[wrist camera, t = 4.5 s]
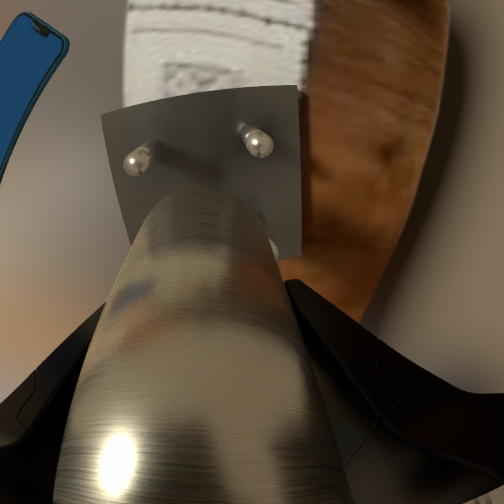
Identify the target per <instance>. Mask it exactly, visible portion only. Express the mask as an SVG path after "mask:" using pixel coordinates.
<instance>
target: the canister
mask: <svg viewBox="0 0 504 504" xmlns="http://www.w3.org/2000/svg"><path fill="white" fill-rule="evenodd" d="M53 504H355V503H354V500H353V496H352V493H351V489H350V486H349V483H348V479H347V476H346V472H345V469H344V466H343V462H342V459H341V456H340V453H339V449H338V446H337V443H336V439H335V436H334V433H333V430H332V427H331V423H330V420H329V417H328V414H327V411H326V407H325V404H324V401H323V398H322V395H321V392H320V389H319V386H318V382H317V379H316V376H315V373H314V370H313V367H312V364H311V361H310V358H309V355H308V352H307V349H306V346H305V343H304V340H303V337H302V334H301V331H300V328H299V325H298V322H297V319H296V316H295V313H294V310H293V307H292V304H291V301H290V299H289V296H288V293H287V290H286V287H285V284H284V281H283V278H282V275H281V273H280V270H279V267H278V264H277V261H276V258H275V255H274V253H273V250H272V247H271V244H270V241H269V239H268V236H267V233H266V230H265V227H264V225H263V223H262V221H261V219H260V218H259V216H258V215H257V213H256V212H255V211H254V210H253V209H252V207H251V206H249V205H248V204H247V203H246V202H245V201H243V200H242V199H240V198H239V197H237V196H235V195H233V194H231V193H228V192H225V191H222V190H219V189H213V188H191V189H186V190H182V191H179V192H176V193H174V194H172V195H170V196H168V197H166V198H165V199H163V200H162V201H160V202H159V203H158V204H157V205H156V206H155V207H154V208H153V209H152V210H151V211H150V213H149V214H148V215H147V217H146V219H145V221H144V222H143V224H142V226H141V228H140V230H139V232H138V234H137V236H136V238H135V240H134V242H133V244H132V246H131V248H130V250H129V252H128V254H127V257H126V259H125V261H124V263H123V265H122V267H121V269H120V271H119V274H118V276H117V278H116V280H115V283H114V285H113V287H112V290H111V292H110V294H109V297H108V299H107V301H106V304H105V306H104V309H103V311H102V314H101V316H100V319H99V321H98V324H97V326H96V329H95V332H94V334H93V337H92V340H91V343H90V345H89V348H88V351H87V354H86V357H85V360H84V363H83V366H82V369H81V372H80V375H79V379H78V382H77V385H76V389H75V392H74V396H73V399H72V403H71V407H70V410H69V414H68V418H67V422H66V427H65V431H64V435H63V440H62V445H61V450H60V455H59V461H58V466H57V473H56V479H55V487H54V495H53Z"/></svg>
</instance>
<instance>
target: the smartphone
mask: <svg viewBox="0 0 504 504" xmlns="http://www.w3.org/2000/svg"><path fill="white" fill-rule="evenodd" d="M69 45H70V43H69V40H68V38H67V37H65V36H64V35H62V34H61V33H60V32H58V31H57V30H55V29H54V28H53V27H51V26H50V25H48V24H47V23H45V22H44V21H42V20H41V19H39V18H38V17H36V16H35V15H33V14H32V13H29V12H22V13H20V14H19V15H18V16H17V17H16V18H15V19H14V20H13V22H12V23H11V25H10V27H9V28H8V30H7V31H6V33H5V35H4V36H3V38H2V40H1V41H0V184H1V181H2V178H3V175H4V172H5V169H6V167H7V164H8V162H9V159H10V157H11V154H12V152H13V149H14V147H15V145H16V142H17V140H18V138H19V136H20V133H21V131H22V129H23V127H24V125H25V123H26V121H27V119H28V117H29V115H30V113H31V111H32V109H33V107H34V105H35V104H36V102H37V100H38V98H39V97H40V95H41V93H42V91H43V90H44V88H45V86H46V85H47V83H48V81H49V80H50V78H51V77H52V75H53V74H54V72H55V70H56V69H57V68H58V66H59V65H60V63H61V62H62V60H63V59H64V57H65V56H66V54H67V53H68V50H69Z"/></svg>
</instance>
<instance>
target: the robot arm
mask: <svg viewBox="0 0 504 504" xmlns="http://www.w3.org/2000/svg"><path fill="white" fill-rule="evenodd" d="M284 284H285V287H286V290H287V293H288V296H289V299H290V301H291V304H292V307H293V310H294V313H295V316H296V319H297V322H298V325H299V328H300V331H301V334H302V337H303V340H304V343H305V346H306V349H307V352H308V355H309V358H310V361H311V364H312V367H313V370H314V373H315V376H316V379H317V382H318V386H319V389H320V392H321V395H322V398H323V401H324V404H325V407H326V411H327V414H328V417H329V420H330V423H331V427H332V430H333V433H334V436H335V439H336V443H337V446H338V449H339V453H340V456H341V459H342V462H343V466H344V469H345V472H346V476H347V479H348V483H349V486H350V489H351V493H352V496H353V500H354V503H355V504H504V393H487V394H486V393H485V394H480V393H479V394H477V393H471V392H466V391H463V390H461V389H459V388H456V387H455V386H453V385H451V384H449V383H448V382H446V381H444V380H442V379H441V378H439V377H437V376H436V375H434V374H432V373H430V372H428V371H427V370H425V369H424V368H422V367H420V366H418V365H417V364H415V363H413V362H412V361H410V360H409V359H407V358H406V357H404V356H403V355H401V354H400V353H398V352H397V351H395V350H394V349H393V348H391V347H390V346H388V345H387V344H386V343H384V342H383V341H382V340H378V338H377V337H376V336H375V335H373V334H372V333H371V332H369V331H368V330H367V329H365V328H364V327H363V326H361V325H360V324H359V323H357V322H356V321H355V320H353V319H352V318H350V317H349V316H348V315H346V314H345V313H344V312H342V311H341V310H340V309H338V308H337V307H336V306H334V305H333V304H332V303H330V302H329V301H327V300H326V299H325V298H323V297H322V296H321V295H319V294H318V293H317V292H315V291H314V290H313V289H311V288H310V287H308V286H307V285H306V284H304V283H303V282H302V281H300V280H299V279H293V280H286V281H285V282H284ZM105 304H106V302H105V303H104V304H103V305H102V306H101V307H100V308H98V309H97V310H96V311H95V312H94V313H93V314H92V315H91V316H90V317H89V318H88V319H87V320H85V321H84V322H83V323H82V324H81V325H80V326H79V327H78V328H77V329H76V330H75V331H74V332H73V333H72V334H71V335H69V336H68V338H66V339H65V340H64V341H63V342H62V343H61V344H60V345H59V346H58V347H57V348H56V349H55V350H54V351H53V352H52V353H51V354H50V355H49V356H48V357H47V358H46V359H45V360H44V361H43V362H42V363H41V364H40V365H39V366H38V367H37V368H36V370H34V371H33V372H32V373H31V374H30V375H29V377H27V379H25V381H23V382H22V384H20V385H19V387H17V388H16V389H15V390H14V391H13V392H12V393H11V394H10V395H9V396H8V397H7V398H6V399H5V400H4V401H3V402H1V403H0V504H53V495H54V487H55V479H56V473H57V466H58V461H59V455H60V450H61V445H62V440H63V435H64V431H65V427H66V422H67V418H68V414H69V410H70V407H71V403H72V399H73V396H74V392H75V389H76V385H77V382H78V379H79V375H80V372H81V369H82V366H83V363H84V360H85V357H86V354H87V351H88V348H89V345H90V343H91V340H92V337H93V334H94V332H95V329H96V326H97V324H98V321H99V319H100V316H101V314H102V311H103V309H104V306H105Z"/></svg>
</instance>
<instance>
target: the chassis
mask: <svg viewBox="0 0 504 504" xmlns="http://www.w3.org/2000/svg"><path fill="white" fill-rule="evenodd" d="M101 121H102V127H103V133H104V138H105V143H106V149H107V154H108V159H109V163H110V168H111V172H112V177H113V181H114V185H115V189H116V193H117V197H118V201H119V205H120V208H121V212H122V216H123V220H124V223H125V226H126V230H127V233H128V236H129V240H130V243H131V246H132V244H133V242H134V240H135V238H136V236H137V234H138V232H139V230H140V228H141V226H142V224H143V222H144V221H145V219H146V217H147V215H148V214H149V213H150V211H151V210H152V209H153V208H154V207H155V206H156V205H157V204H158V203H159V202H160V201H162V200H163V199H165V198H166V197H168V196H170V195H172V194H174V193H176V192H179V191H182V190H186V189H191V188H213V189H219V190H222V191H225V192H228V193H231V194H233V195H235V196H237V197H239V198H240V199H242V200H243V201H245V202H246V203H247V204H248V205H249V206H251V207H252V209H253V210H254V211H255V212H256V213H257V215H258V216H259V218H260V219H261V221H262V223H263V225H264V227H265V230H266V233H267V236H268V239H269V241H270V244H271V247H272V250H273V253H274V255H275V258H276V260H278V259H285V258H293V257H300V256H301V248H302V202H301V156H300V130H299V110H298V93H297V85H280V86H258V87H244V88H233V89H223V90H215V91H207V92H200V93H193V94H187V95H181V96H175V97H170V98H165V99H160V100H155V101H151V102H146V103H142V104H138V105H134V106H130V107H126V108H122V109H118V110H115V111H111V112H108V113H104V114H101Z"/></svg>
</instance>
